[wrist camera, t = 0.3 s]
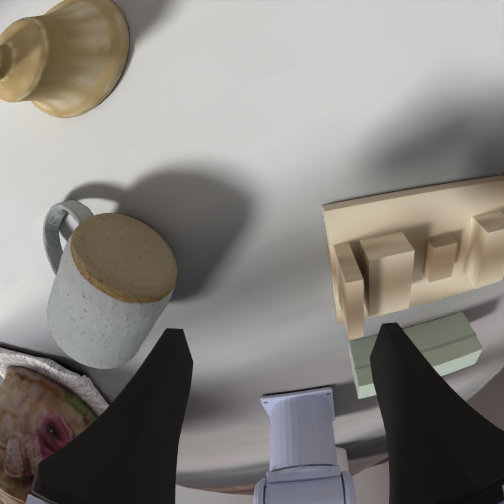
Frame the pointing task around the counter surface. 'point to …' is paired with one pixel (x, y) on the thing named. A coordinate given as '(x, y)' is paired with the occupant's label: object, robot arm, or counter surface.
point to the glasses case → (422, 349)
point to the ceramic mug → (105, 284)
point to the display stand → (413, 247)
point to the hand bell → (64, 57)
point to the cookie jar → (38, 417)
